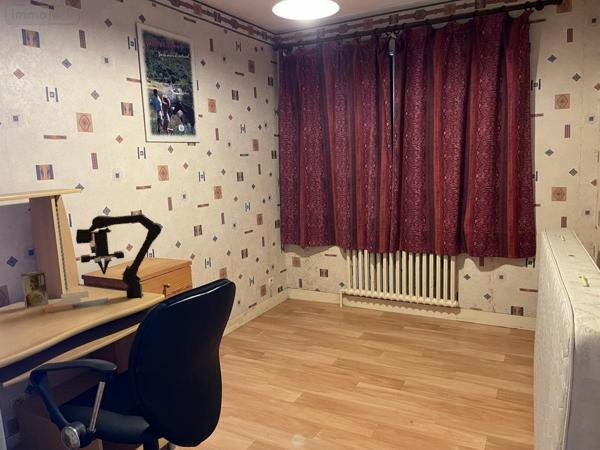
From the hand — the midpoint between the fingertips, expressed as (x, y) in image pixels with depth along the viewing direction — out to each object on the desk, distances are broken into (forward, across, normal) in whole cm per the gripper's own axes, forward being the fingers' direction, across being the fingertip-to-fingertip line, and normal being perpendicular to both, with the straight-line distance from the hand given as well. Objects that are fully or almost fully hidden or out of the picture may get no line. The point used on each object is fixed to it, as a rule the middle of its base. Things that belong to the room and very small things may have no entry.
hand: (104, 274), depth 213 cm
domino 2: (+10, +11, +3) cm, 15 cm away
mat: (+13, +11, +3) cm, 17 cm away
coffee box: (+14, +29, -10) cm, 34 cm away
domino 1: (+12, +15, +3) cm, 19 cm away
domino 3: (+8, +8, +3) cm, 11 cm away
